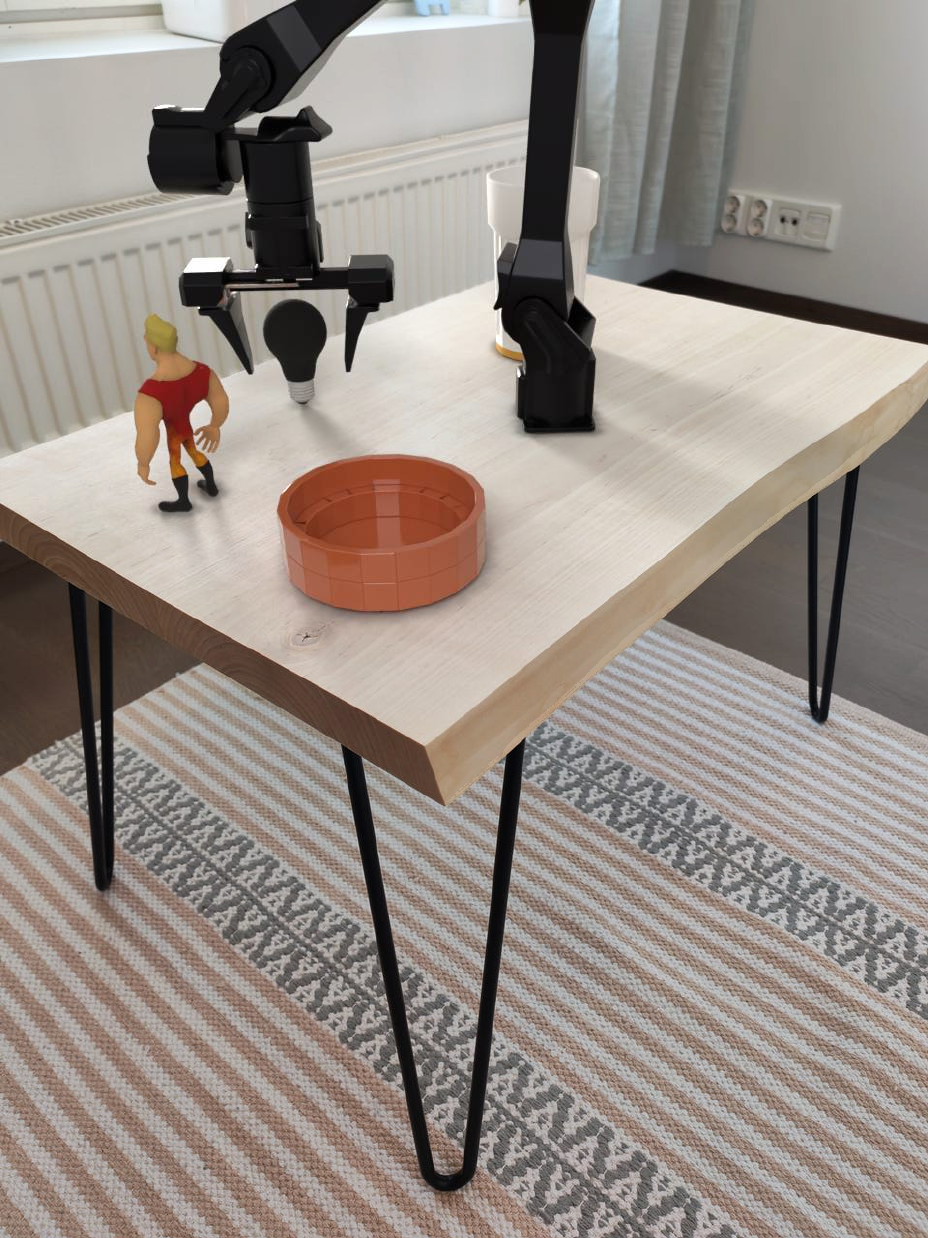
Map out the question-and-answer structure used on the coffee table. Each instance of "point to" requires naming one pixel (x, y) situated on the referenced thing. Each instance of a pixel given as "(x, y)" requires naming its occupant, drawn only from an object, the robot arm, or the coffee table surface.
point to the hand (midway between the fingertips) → (300, 371)
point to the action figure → (176, 412)
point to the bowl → (383, 531)
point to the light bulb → (296, 343)
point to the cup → (507, 225)
